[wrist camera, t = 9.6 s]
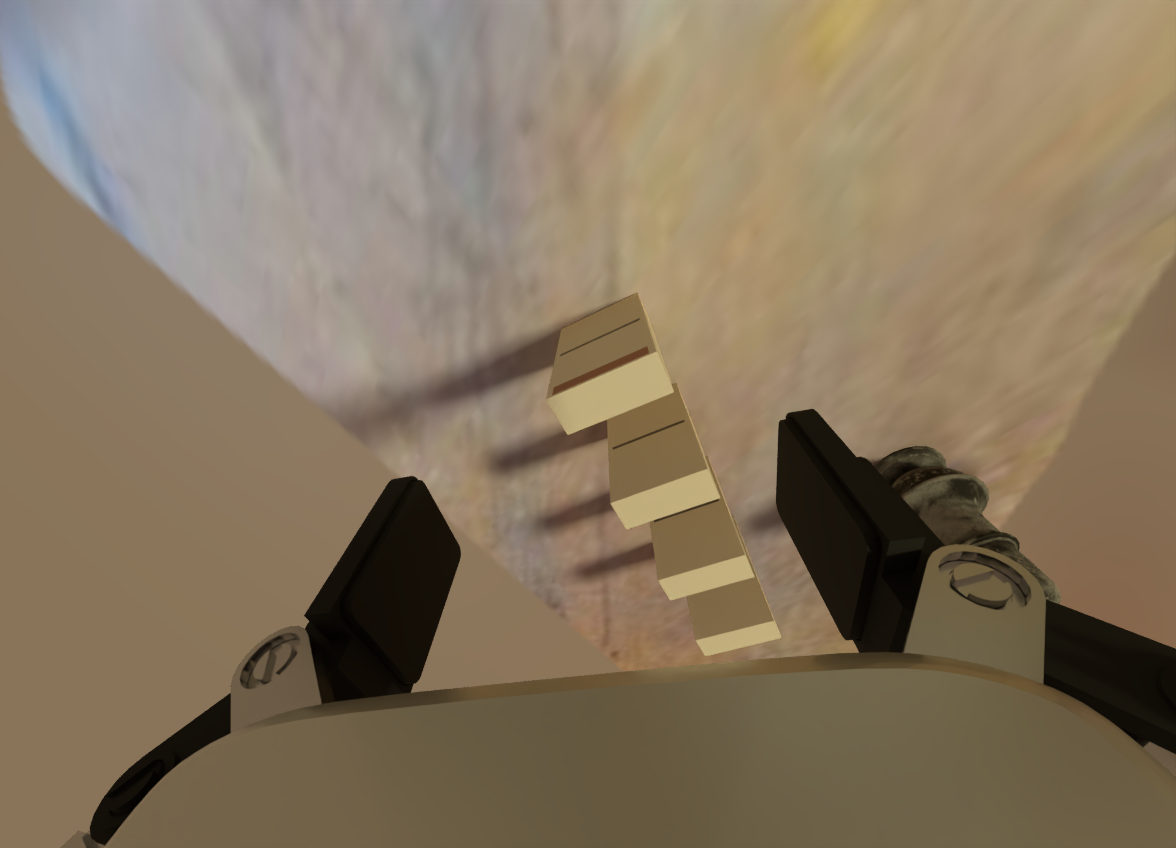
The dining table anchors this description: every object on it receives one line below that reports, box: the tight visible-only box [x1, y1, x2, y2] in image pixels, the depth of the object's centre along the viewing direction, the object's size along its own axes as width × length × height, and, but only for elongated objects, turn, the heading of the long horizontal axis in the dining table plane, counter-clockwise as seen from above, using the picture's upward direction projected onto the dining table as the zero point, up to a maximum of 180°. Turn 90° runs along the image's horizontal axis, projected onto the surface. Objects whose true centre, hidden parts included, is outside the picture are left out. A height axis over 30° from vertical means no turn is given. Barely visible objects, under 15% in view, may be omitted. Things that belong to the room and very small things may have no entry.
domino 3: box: [650, 456, 755, 600], centre depth 27 cm, size 2×5×9 cm, turn 116°
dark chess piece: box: [875, 446, 1061, 604], centre depth 26 cm, size 6×6×12 cm
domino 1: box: [546, 293, 674, 435], centre depth 21 cm, size 2×5×9 cm, turn 116°
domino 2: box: [607, 383, 720, 529], centre depth 24 cm, size 2×5×9 cm, turn 116°
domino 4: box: [686, 516, 781, 656], centre depth 30 cm, size 2×5×9 cm, turn 117°
